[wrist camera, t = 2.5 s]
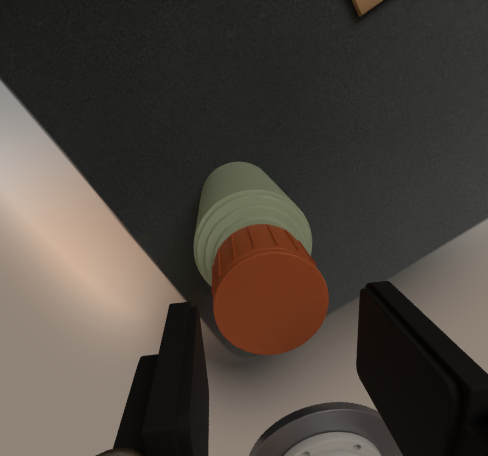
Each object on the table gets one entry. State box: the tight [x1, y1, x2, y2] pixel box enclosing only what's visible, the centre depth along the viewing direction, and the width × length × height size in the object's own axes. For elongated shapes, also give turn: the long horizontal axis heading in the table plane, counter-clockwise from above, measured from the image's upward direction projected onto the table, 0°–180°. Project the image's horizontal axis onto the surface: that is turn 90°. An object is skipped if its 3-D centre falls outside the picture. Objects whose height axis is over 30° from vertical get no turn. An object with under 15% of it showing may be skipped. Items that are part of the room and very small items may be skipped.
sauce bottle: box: [194, 162, 312, 287], centre depth 20 cm, size 6×6×16 cm
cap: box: [212, 224, 329, 355], centre depth 13 cm, size 4×4×3 cm
